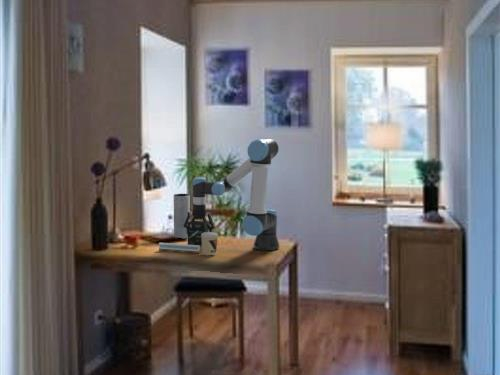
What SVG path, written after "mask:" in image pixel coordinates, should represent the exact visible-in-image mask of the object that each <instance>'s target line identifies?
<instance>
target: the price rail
mask: <svg viewBox="0 0 500 375" xmlns="http://www.w3.org/2000/svg"><path fill="white" fill-rule="evenodd" d="M159 249H172V250H186V251H199V245H188V244H185V243H171V242H169V243H168V242H159V243H158V250H159Z"/></svg>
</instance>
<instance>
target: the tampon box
mask: <svg viewBox="0 0 500 375" xmlns="http://www.w3.org/2000/svg"><path fill="white" fill-rule="evenodd" d="M207 221H208V222H204V221H203V220H200V219H195V221H191V220H190V222H188V238H187V245H199V246H202V238H201V234H202V233H204V232H208V230H209V229H208V227H207V223H209V224H210V222H209V220H207ZM210 225H211V224H210Z"/></svg>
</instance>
